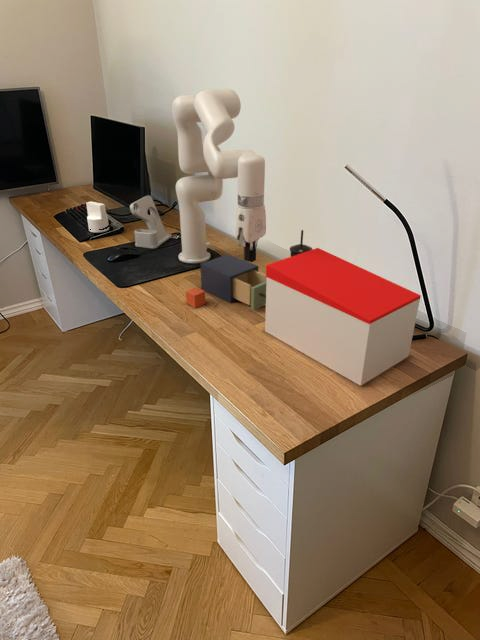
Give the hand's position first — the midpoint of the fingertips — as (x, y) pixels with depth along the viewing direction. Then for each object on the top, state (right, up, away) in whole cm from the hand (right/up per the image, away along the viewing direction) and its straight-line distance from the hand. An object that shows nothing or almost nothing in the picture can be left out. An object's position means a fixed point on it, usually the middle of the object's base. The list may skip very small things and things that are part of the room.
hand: (249, 260), depth 148 cm
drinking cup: (+18, -6, +23) cm, 29 cm away
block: (-17, -13, +10) cm, 24 cm away
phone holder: (-40, +16, +62) cm, 76 cm away
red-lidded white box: (+23, -25, -11) cm, 36 cm away
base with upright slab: (-68, +23, +76) cm, 104 cm away
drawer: (+3, -12, +10) cm, 16 cm away
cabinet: (-7, -8, +19) cm, 22 cm away
